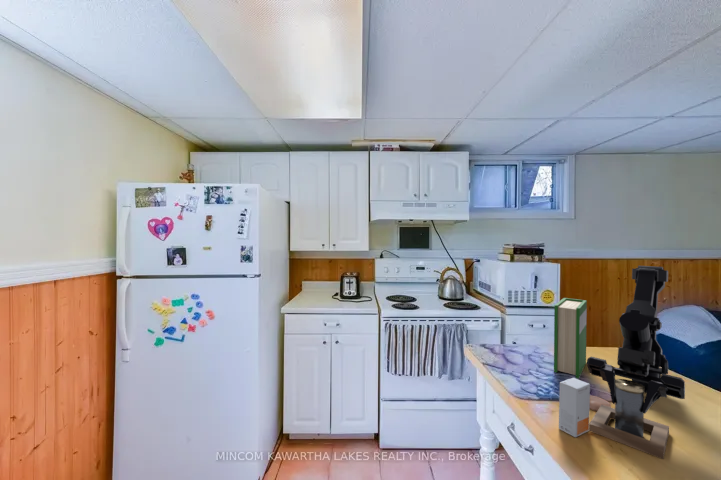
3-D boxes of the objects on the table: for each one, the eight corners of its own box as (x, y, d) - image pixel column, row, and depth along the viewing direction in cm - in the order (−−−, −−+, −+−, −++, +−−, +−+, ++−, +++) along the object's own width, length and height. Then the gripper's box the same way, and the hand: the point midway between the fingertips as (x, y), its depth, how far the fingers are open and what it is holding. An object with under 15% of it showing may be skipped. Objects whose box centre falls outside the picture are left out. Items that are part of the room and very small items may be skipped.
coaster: (596, 396, 95) (596, 394, 95) (618, 411, 87) (618, 408, 87) (570, 397, 95) (570, 394, 95) (589, 411, 87) (589, 408, 87)
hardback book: (578, 378, 108) (579, 308, 107) (553, 372, 112) (554, 305, 112) (585, 362, 121) (586, 300, 120) (563, 357, 126) (563, 297, 125)
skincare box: (576, 438, 76) (576, 389, 76) (558, 428, 79) (558, 381, 79) (590, 431, 78) (590, 383, 78) (572, 422, 82) (572, 376, 82)
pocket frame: (601, 410, 88) (601, 404, 88) (668, 433, 78) (669, 426, 78) (589, 430, 79) (589, 423, 79) (663, 459, 69) (663, 451, 69)
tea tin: (630, 425, 81) (630, 378, 81) (650, 439, 75) (651, 389, 75) (608, 425, 81) (609, 379, 81) (627, 439, 75) (628, 389, 75)
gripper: (588, 327, 87) (576, 378, 80) (685, 344, 73) (681, 409, 66) (595, 348, 93) (584, 398, 86) (686, 368, 79) (682, 430, 72)
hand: (628, 407), depth 77 cm, fingers closed on tea tin, 5 cm apart
